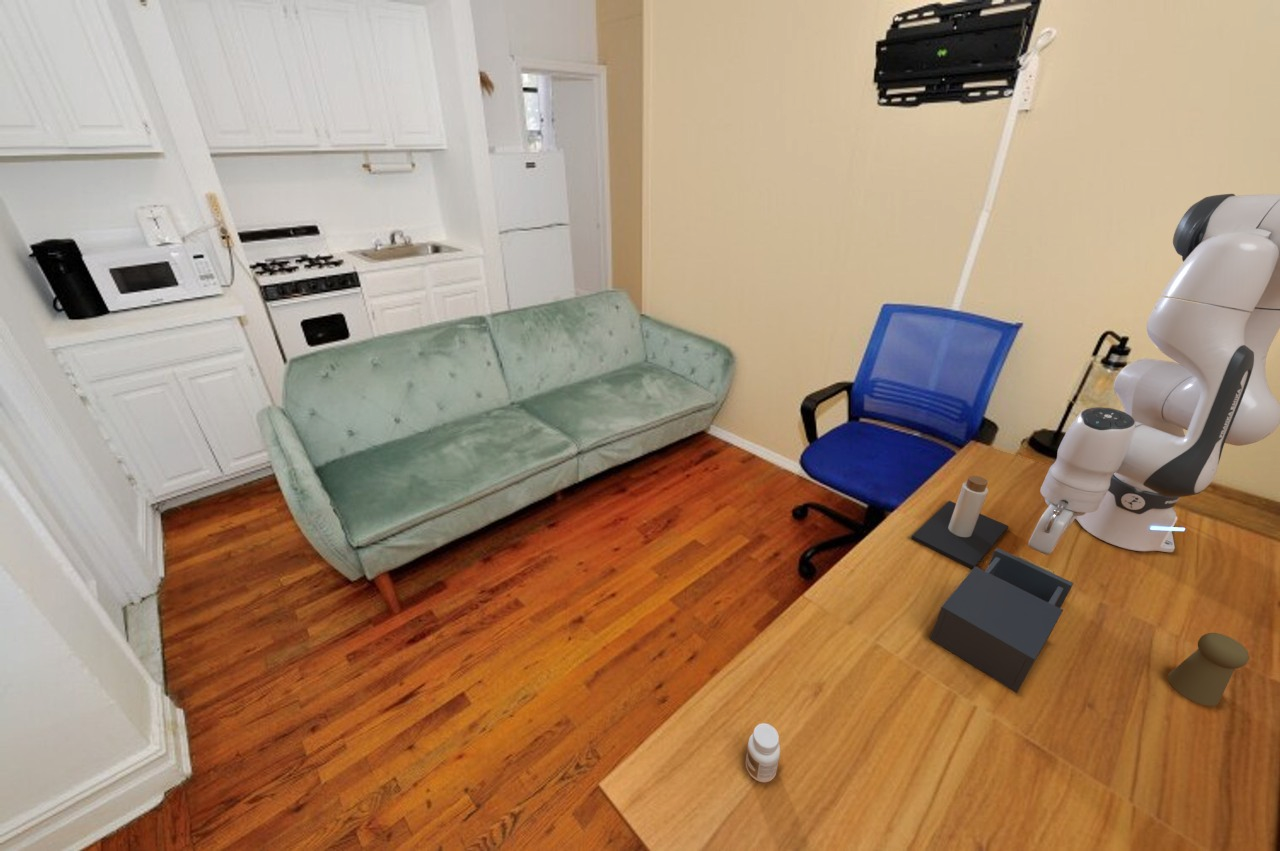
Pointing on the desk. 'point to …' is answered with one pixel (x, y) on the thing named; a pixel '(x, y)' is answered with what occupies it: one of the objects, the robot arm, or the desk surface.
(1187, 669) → the cork
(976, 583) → the cabinet
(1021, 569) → the drawer
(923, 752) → the desk surface
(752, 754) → the pill bottle
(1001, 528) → the mat
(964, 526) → the pepper mill
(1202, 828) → the desk surface
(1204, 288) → the robot arm
